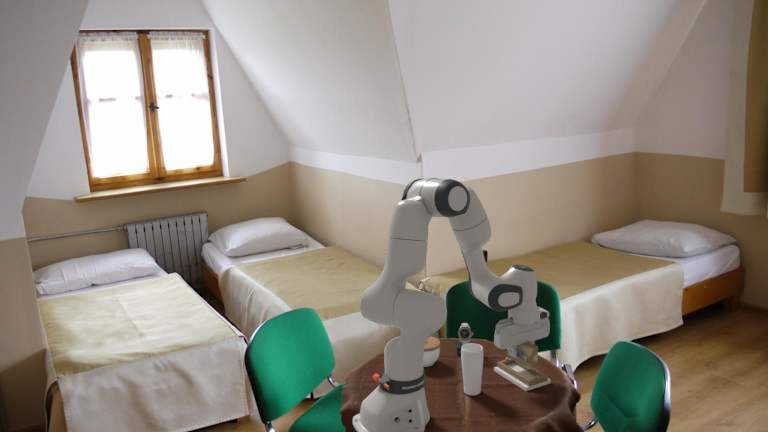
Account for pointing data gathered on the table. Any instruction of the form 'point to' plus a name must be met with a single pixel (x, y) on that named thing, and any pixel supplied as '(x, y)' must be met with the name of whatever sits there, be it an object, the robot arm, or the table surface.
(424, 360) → the lidded jar
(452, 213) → the robot arm
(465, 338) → the watch
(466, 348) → the drinking glass
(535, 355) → the cardboard box
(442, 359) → the table surface
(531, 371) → the small wooden cabinet
